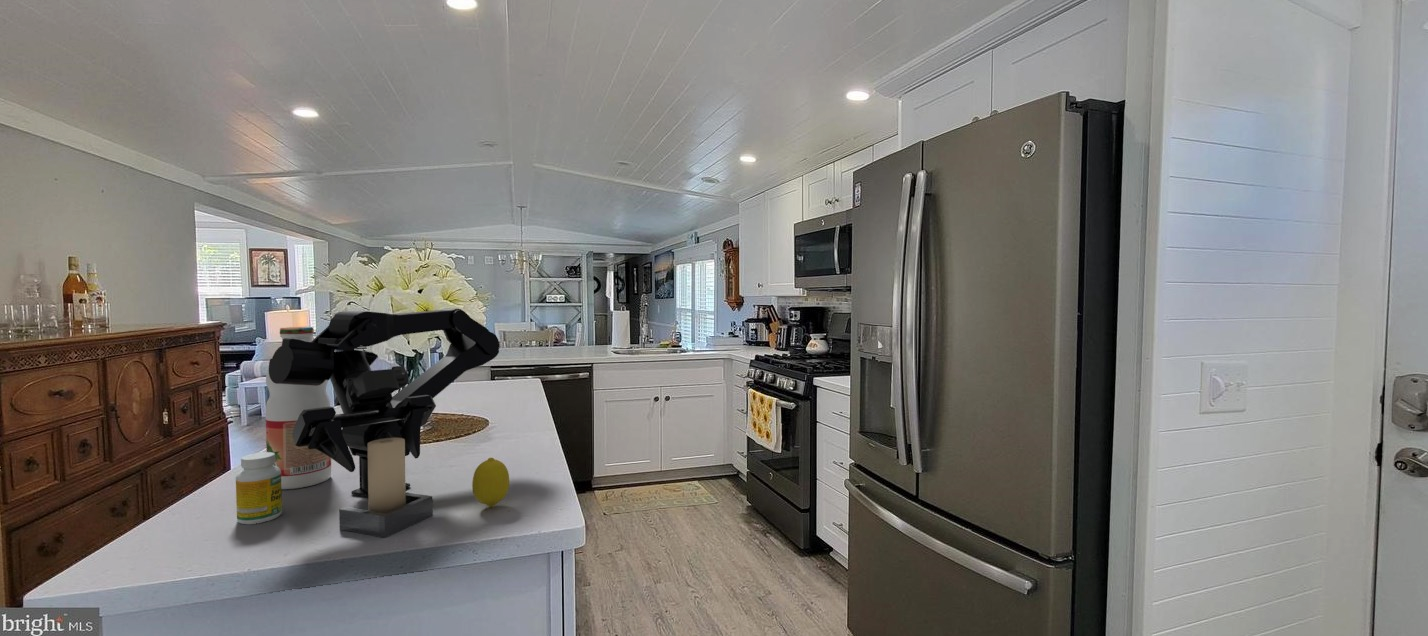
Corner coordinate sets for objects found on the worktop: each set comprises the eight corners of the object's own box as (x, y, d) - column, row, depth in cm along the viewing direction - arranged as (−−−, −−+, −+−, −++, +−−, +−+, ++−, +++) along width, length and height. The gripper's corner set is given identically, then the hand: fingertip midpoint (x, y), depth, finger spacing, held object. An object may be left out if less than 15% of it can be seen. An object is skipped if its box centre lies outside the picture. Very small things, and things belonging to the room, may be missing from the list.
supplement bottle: (243, 514, 87) (241, 453, 86) (286, 509, 89) (284, 449, 89) (231, 527, 82) (229, 462, 82) (277, 521, 84) (275, 458, 84)
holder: (339, 529, 82) (339, 509, 81) (389, 508, 90) (389, 489, 90) (384, 537, 79) (384, 516, 79) (432, 515, 87) (432, 496, 87)
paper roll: (361, 520, 83) (360, 443, 83) (393, 509, 88) (392, 436, 87) (381, 526, 81) (380, 447, 81) (412, 515, 85) (411, 440, 85)
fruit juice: (315, 489, 98) (311, 328, 97) (254, 491, 97) (250, 328, 96) (341, 472, 108) (338, 325, 107) (286, 474, 106) (283, 326, 105)
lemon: (496, 515, 87) (496, 463, 87) (465, 512, 88) (464, 461, 88) (516, 502, 93) (516, 454, 92) (486, 499, 94) (485, 452, 94)
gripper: (299, 353, 80) (332, 443, 74) (430, 346, 95) (466, 420, 89) (279, 402, 85) (308, 490, 79) (407, 388, 100) (439, 461, 94)
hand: (386, 463), depth 85 cm, fingers open, 9 cm apart
